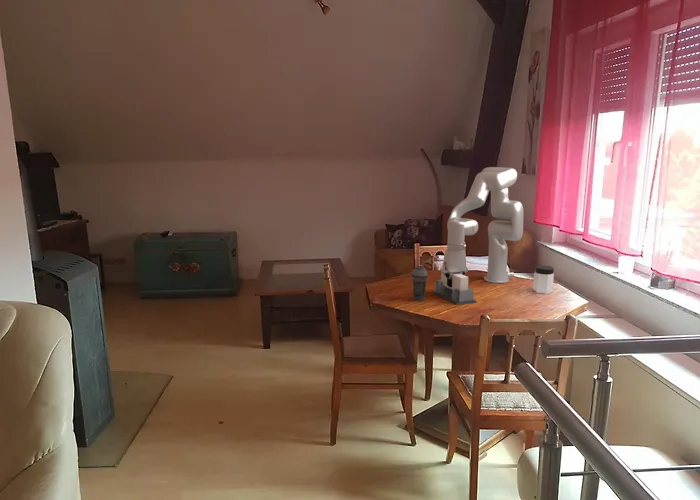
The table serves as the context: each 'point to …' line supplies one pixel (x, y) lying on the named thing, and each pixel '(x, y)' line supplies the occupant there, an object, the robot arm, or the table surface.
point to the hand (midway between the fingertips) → (453, 285)
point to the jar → (543, 279)
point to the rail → (456, 281)
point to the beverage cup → (419, 282)
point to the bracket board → (454, 294)
